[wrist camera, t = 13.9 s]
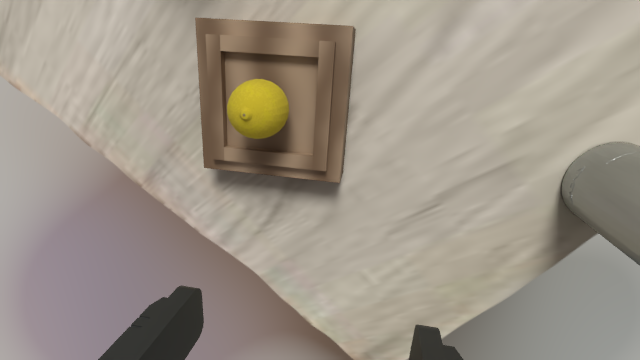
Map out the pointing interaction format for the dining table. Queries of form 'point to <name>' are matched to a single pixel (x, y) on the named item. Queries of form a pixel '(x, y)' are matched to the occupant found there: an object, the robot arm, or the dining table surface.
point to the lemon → (258, 108)
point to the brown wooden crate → (296, 82)
